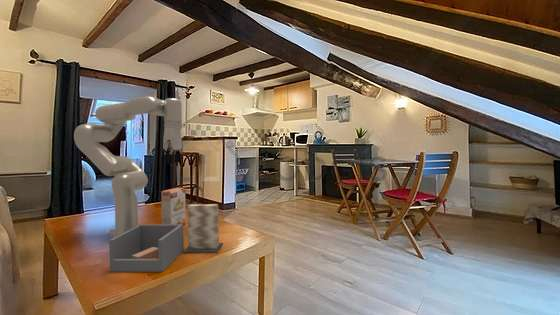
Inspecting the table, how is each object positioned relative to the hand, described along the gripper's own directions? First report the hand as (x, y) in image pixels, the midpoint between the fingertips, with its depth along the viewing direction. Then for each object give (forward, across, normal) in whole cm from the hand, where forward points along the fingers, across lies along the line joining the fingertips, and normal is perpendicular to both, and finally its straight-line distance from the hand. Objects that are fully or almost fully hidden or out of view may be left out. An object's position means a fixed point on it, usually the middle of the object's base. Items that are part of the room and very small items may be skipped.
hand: (173, 162), depth 122 cm
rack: (+36, +23, 0) cm, 43 cm away
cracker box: (+36, -20, -9) cm, 43 cm away
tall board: (+35, +11, +17) cm, 41 cm away
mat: (+36, +11, +17) cm, 41 cm away
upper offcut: (+34, +26, 0) cm, 43 cm away
